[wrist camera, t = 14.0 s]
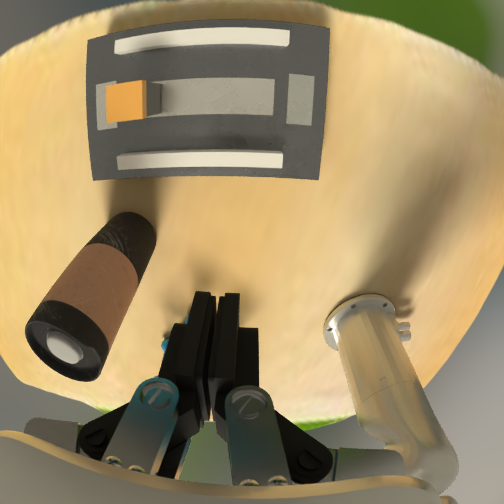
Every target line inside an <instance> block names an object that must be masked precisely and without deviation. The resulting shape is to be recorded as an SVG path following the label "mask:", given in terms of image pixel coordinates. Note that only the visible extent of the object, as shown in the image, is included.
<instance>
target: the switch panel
mask: <svg viewBox="0 0 504 504" xmlns="http://www.w3.org/2000/svg"><path fill="white" fill-rule="evenodd" d="M329 37H330V28H326V27H320V26H314V25H307V24H300V23H291V22H282V21H269V20H248V19H219V20H198V21H185V22H175V23H167V24H159V25H153V26H147V27H141V28H135V29H130V30H125V31H121V32H116V33H112V34H108V35H104V36H100V37H97V38H93V39H90V40H88V44H87V64H86V106H87V126H88V140H89V151H90V161H91V169H92V177H93V181H95V180H108V179H123V178H142V177H168V176H249V177H276V178H295V179H311V180H319V172H320V163H321V153H322V143H323V133H324V122H325V110H326V96H327V81H328V62H329ZM139 80H146V82H151V83H158V84H161V91H160V104H161V114H156V115H152V116H147V118H144V119H138V120H129V121H121V122H113V123H107V116H106V86H109V85H114V84H120V83H125V82H132V81H139Z"/></svg>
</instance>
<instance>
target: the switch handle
mask: <svg viewBox="0 0 504 504" xmlns="http://www.w3.org/2000/svg"><path fill="white" fill-rule="evenodd" d="M160 91H161V84H158V83H151V82H146V80H139V81H132V82H125V83H120V84H114V85H109V86H106V116H107V123H113V122H121V121H129V120H138V119H144V118H147V116H152V115H156V114H161V104H160Z"/></svg>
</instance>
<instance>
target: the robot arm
mask: <svg viewBox="0 0 504 504" xmlns="http://www.w3.org/2000/svg"><path fill="white" fill-rule="evenodd" d="M239 303H240V293H225V297H224V296H220V298H219V304H218V310H217V313H216V296H211V293H210V292H200V291H196V293H195V296H194V299H193V303H192V307H191V310H190V314H189V318H188V321H187V324H180V323H175V324H174V326H173V328H172V331H171V335H170V338H169V341H168V344H167V348H166V351H165V354H164V358H163V361H162V364H161V368H160V371H159V375H158V378H151V379H148V380H145V381H144V382H142V383H141V384H140V385H139V386H138V388H137V389H136V391H135V393H134V395H133V397H132V399H131V401H130V402H129V403H127V404H125V405H123V406H121V407H119V408H117V409H115V410H113V411H111V412H109V413H107V414H105V415H103V416H101V417H99V418H97V419H95V420H93V421H90V422H88V423H87V424H85V425H80V424H79V423H78V422H70V421H61V420H53V419H46V418H40V417H39V418H33V419H31V420H29V421H28V422H27V424H26V426H25V429H24V433H21V432H17V431H9V430H8V431H7V430H3V431H0V504H458V503H457V501H456V500H455V499H454V498H452V497H450V496H439V494H441V493H442V492H444V491H445V490H446V489H447V488H448V487H449V486H450V485H451V484H452V483H453V481H454V480H455V478H456V476H457V474H458V469H459V462H458V458H457V454H456V452H455V450H454V448H453V446H452V444H451V443H450V441H449V440H448V438H447V436H446V434H445V433H444V431H443V429H442V428H441V426H440V424H439V422H438V420H437V418H436V416H435V414H434V412H433V410H432V408H431V406H430V403H429V401H428V399H427V397H426V395H425V392H424V390H423V388H422V385H421V383H420V381H419V379H418V376H417V374H416V372H415V370H414V368H413V365H412V363H411V361H410V359H409V357H408V355H407V353H406V351H405V349H404V346H403V344H402V342H403V341H409V340H410V339H411V332H410V331H409V329H410V323H409V322H402V323H398V322H397V321H396V319H395V317H396V312H395V308H394V306H393V304H392V303H391V302H390V300H389V299H387V298H386V297H384V296H381V295H376V294H366V295H361V296H358V297H355V298H352V299H350V300H348V301H346V302H344V303H343V304H341V305H340V306H338V307H337V308H336V309H335V310H334V311H333V312H332V313H331V314H330V316H329V317H328V319H327V320H326V322H325V325H324V330H323V333H324V338H325V341H326V343H327V344H328V345H329V346H330V347H331V348H332V349H334V350H337V351H339V355H340V358H341V361H342V365H343V368H344V372H345V375H346V379H347V382H348V386H349V389H350V393H351V397H352V400H353V404H354V408H355V412H356V415H357V419H358V422H359V424H360V426H361V428H362V429H363V430H364V431H365V432H366V433H367V434H368V435H370V436H372V437H374V438H376V439H378V440H380V441H383V442H385V444H386V446H385V447H384V448H383V449H357V448H342V447H339V448H338V449H331V448H327V447H325V446H324V445H323V444H321V443H320V442H318V441H317V440H315V439H314V438H313V437H311V436H310V435H308V434H307V433H305V432H304V431H303V430H301V429H300V428H298V427H297V426H296V425H294V424H293V423H292V422H290V421H289V420H288V419H286V418H285V417H284V416H282V415H281V414H280V413H278V412H277V411H276V410H274V406H273V402H272V399H271V397H270V395H269V394H268V393H267V392H266V391H265V390H263V389H262V388H260V387H259V341H258V328H243V327H239ZM399 330H404V331H399ZM211 408H212V415H213V421H216V428H217V434H218V435H220V437H221V438H223V439H224V440H225V441H226V442H227V445H228V453H229V460H230V469H231V477H232V484H233V485H219V484H207V483H198V482H190V481H183V480H178V479H179V476H180V473H181V470H182V467H183V464H184V461H185V458H186V455H187V452H188V449H189V446H190V443H191V438H192V436H193V435H195V434H196V433H198V432H199V429H200V427H202V428H203V425H204V421H209V419H210V411H211Z"/></svg>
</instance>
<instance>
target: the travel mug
mask: <svg viewBox="0 0 504 504" xmlns="http://www.w3.org/2000/svg"><path fill="white" fill-rule="evenodd" d="M155 246H156V235H155V232H154V229H153V227H152V226H151V224H150V223H149V222H148V221H147V220H146V219H145V218H144V217H142V216H140V215H139V214H136V213H132V212H124V213H120V214H118V215H116V216H115V217H113V218H112V219H111V220H110V221H109V222H108V223H107V224H106V225H105V226H104V227H103V228H102V229H101V230H100V231H99V232H98V233H97V234H96V235H95V236H94V237H93V238H92V239H91V240H90V241H89V242H88V243H87V244H86V245H85V246H84V247H83V248H82V250H81V251H80V252H79V253H78V254H77V255H76V257H75V258H74V259H73V260H72V262H71V263H70V264H69V265H68V267H67V268H66V269H65V270H64V272H63V273H62V274H61V276H60V277H59V278H58V280H57V281H56V282H55V284H54V285H53V286H52V288H51V289H50V290H49V292H48V293H47V295H46V296H45V297H44V299H43V300H42V302H41V303H40V304H39V306H38V307H37V309H36V310H35V312H34V313H33V315H32V316H31V318H30V319H29V321H28V322H27V324H26V327H25V335H26V339H27V341H28V343H29V345H30V347H31V348H32V350H33V351H34V353H35V354H36V355H37V356H38V357H39V358H40V359H41V360H42V361H43V362H44V363H45V364H46V365H48V366H49V367H50V368H52V369H53V370H55V371H56V372H58V373H60V374H61V375H63V376H65V377H68V378H70V379H73V380H77V381H83V382H90V381H94V380H96V379H97V378H98V377H99V375H100V374H101V371H102V369H103V366H104V364H105V361H106V359H107V356H108V354H109V351H110V349H111V347H112V344H113V342H114V339H115V337H116V335H117V332H118V330H119V328H120V326H121V323H122V321H123V319H124V317H125V315H126V312H127V310H128V308H129V306H130V304H131V302H132V299H133V297H134V295H135V293H136V291H137V288H138V286H139V284H140V281H141V279H142V277H143V274H144V272H145V270H146V267H147V265H148V263H149V260H150V258H151V256H152V254H153V251H154V249H155Z"/></svg>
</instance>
